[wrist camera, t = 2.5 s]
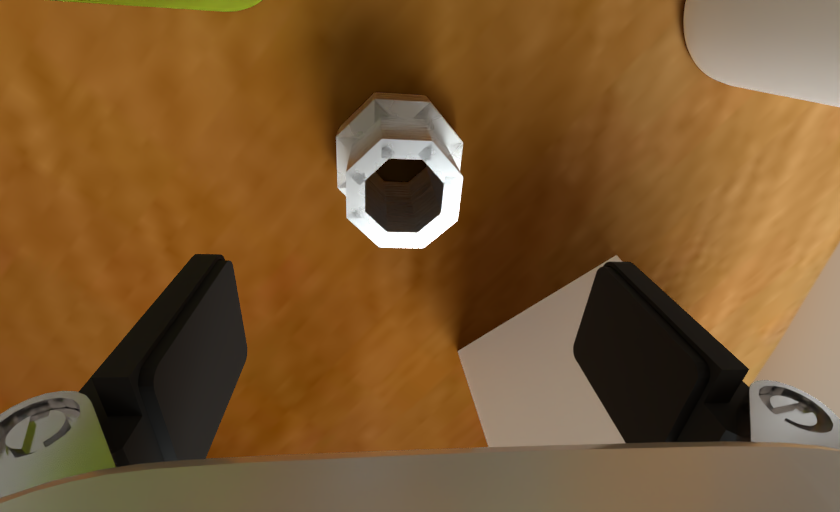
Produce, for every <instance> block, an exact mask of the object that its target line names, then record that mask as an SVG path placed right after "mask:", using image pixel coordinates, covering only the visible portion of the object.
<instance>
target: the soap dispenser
mask: <svg viewBox="0 0 840 512" xmlns="http://www.w3.org/2000/svg"><path fill="white" fill-rule="evenodd" d="M52 1H68V2H83V3H99V4H114V5H130V6H146V7H161V8H177V9H192V10H208V11H223V12H232V11H240V10H244V9H247V8H250V7H252V6H254V5H256V4H258V3H259V2H261V1H262V0H52Z"/></svg>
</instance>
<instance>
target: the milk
mask: <svg viewBox="0 0 840 512" xmlns="http://www.w3.org/2000/svg"><path fill="white" fill-rule="evenodd" d="M607 262H622V261H621V259H620V258H619V257H618V256H617V255H615V256H614V257H612V258H610V259H609V260H607V261H606V262H604V263H602V264H601V265H599V266H597V267H596V268H594V269H592V270H591V271H589V272H587V273H586V274H584V275H582V276H581V277H579V278H577V279H576V280H574V281H572V282H571V283H569V284H568V285H566V286H564V287H563V288H561V289H559V290H558V291H556V292H554V293H553V294H551V295H549V296H548V297H546V298H544V299H543V300H541V301H539V302H538V303H536V304H534V305H533V306H531V307H530V308H528V309H526V310H525V311H523V312H521V313H520V314H518V315H516V316H515V317H513V318H511V319H510V320H508V321H506V322H505V323H503V324H501V325H500V326H498V327H496V328H495V329H493V330H492V331H490V332H488V333H487V334H485V335H483V336H482V337H480V338H478V339H477V340H475V341H473V342H472V343H470V344H468V345H467V346H465V347H463V348H462V349H460V350H459V351H458V354H459V357H460V360H461V363H462V366H463V370H464V373H465V376H466V379H467V382H468V385H469V388H470V391H471V394H472V397H473V400H474V404H475V407H476V410H477V413H478V416H479V419H480V422H481V425H482V428H483V431H484V434H485V438H486V441H487V444H488V447H514V446H545V445H581V444H618V443H625V441H624V439H623V438H622V436H621V434H620V433H619V431H618V429H617V428H616V426H615V424H614V423H613V421H612V419H611V418H610V416H609V414H608V413H607V411H606V409H605V408H604V406H603V404H602V403H601V401H600V399H599V398H598V396H597V394H596V393H595V391H594V389H593V388H592V386H591V384H590V383H589V381H588V379H587V378H586V376H585V374H584V373H583V371H582V369H581V368H580V366H579V364H578V363H577V361H576V359H575V357H574V354H573V345H574V342H575V338H576V335H577V332H578V329H579V326H580V323H581V320H582V316H583V313H584V310H585V307H586V304H587V301H588V297H589V294H590V291H591V288H592V285H593V282H594V279H595V275H596V272H597V270H598V269H599V268H600V267H603V266H604V264H605V263H607Z"/></svg>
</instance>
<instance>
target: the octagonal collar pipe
mask: <svg viewBox="0 0 840 512" xmlns="http://www.w3.org/2000/svg"><path fill="white" fill-rule="evenodd" d="M462 150H463V142H462V140H461V139H460V137H459V136H458V135H457V133H456V132H455V131H454V129H453V128H452V127H451V126H450V125H449V123H448V122H447V121H446V120H445V118H444V117H443V116H442V115H441V114H440V112H439V111H438V110H437V109H436V107H435V106H434V105H433V104H432V102H431V101H430V100H429V99H428V98H427V96H426V95H416V94H400V93H383V92H375V93H374V94H373V95H372V96H371V97H369V98H368V99H367V100H366V101H365V102H364V103H363V104H362V105H361V106H360V107H359V108H358V109H357V110H356V111H355V112H354V113H353V114H352V115H351V116H350V117H349V118H348V119H347V120H346V121H345V122H344V123H343V124H342V125H341V126H340V127H339V130H338V133H337V135H336V153H337V184H338V189H339V190H340V191H341V192H343V193H344V194H345V195H346V208H347V218H348V219H349V220H350V221H351V222H352V223H353V224H354V225H355V226H356V227H357V228H359V229H360V230H361V231H362V232H363V233H364V234H365V235H366V236H367V237H368V238H370V239H371V240H372V241H373V242H374V243H375V244H376V245H377V246H378V247H387V248H424V247H426V246H427V245H428V244H429V243H431V242H432V241H433V240H434V239H436V238H437V237H438V236H439V235H441V234H442V233H443V232H444V231H445V230H447V229H448V228H449V227H450V226H452V225H453V224H454V223H455V222H457V221H458V214H459V206H460V199H461V191H462V183H463V176H462V174H461V172H460V166H461V158H462ZM388 159H412V160H424V162H425V163H426V167H425V168H424V169H423V170H422V171H421V172H420V173H418V174H417V175H416V176H415V177H414V178H413V179H412V180H410V181H409V182H388V181H384V180H383V179H382V178H381V177H380V176H379V175H378V174H377V173H376V172H375V171H376V170H377V169H378V168H379V167H381V166H382V165H383V164H384V163H385V162H386V161H387V160H388Z"/></svg>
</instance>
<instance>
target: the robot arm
mask: <svg viewBox="0 0 840 512" xmlns="http://www.w3.org/2000/svg"><path fill="white" fill-rule="evenodd" d="M573 354H574V357H575V359H576V361H577V363H578V364H579V366H580V368H581V369H582V371H583V373H584V374H585V376H586V378H587V379H588V381H589V383H590V384H591V386H592V388H593V389H594V391H595V393H596V394H597V396H598V398H599V399H600V401H601V403H602V404H603V406H604V408H605V409H606V411H607V413H608V414H609V416H610V418H611V419H612V421H613V423H614V424H615V426H616V428H617V429H618V431H619V433H620V434H621V436H622V438H623V439H624V441H625V443H618V444H581V445H545V446H514V447H482V448H452V449H422V450H394V451H368V452H342V453H316V454H290V455H267V456H248V457H229V458H211V459H205V458H206V456H207V454H208V451H209V449H210V446H211V444H212V441H213V439H214V437H215V434H216V432H217V429H218V427H219V424H220V422H221V420H222V417H223V415H224V412H225V410H226V407H227V405H228V403H229V400H230V398H231V395H232V393H233V390H234V388H235V386H236V383H237V381H238V378H239V376H240V373H241V371H242V369H243V366H244V364H245V361H246V357H247V344H246V338H245V332H244V326H243V321H242V315H241V309H240V303H239V298H238V292H237V286H236V280H235V275H234V269H233V264H232V262H231V261H225V259H224V257H223V256H222V255H216V254H195V255H194V256H193V257H192V258H191V259H190V260H189V262H188V263H187V264H186V265H185V266H184V267H183V269H182V270H181V271H180V272H179V273H178V275H177V276H176V277H175V278H174V279H173V281H172V282H171V283H170V284H169V285H168V286H167V288H166V289H165V290H164V291H163V292H162V294H161V295H160V296H159V297H158V298H157V299H156V301H155V302H154V303H153V304H152V305H151V307H150V308H149V309H148V310H147V311H146V313H145V314H144V315H143V316H142V317H141V318H140V320H139V321H138V322H137V323H136V324H135V326H134V327H133V328H132V329H131V330H130V332H129V333H128V334H127V335H126V336H125V337H124V339H123V340H122V341H121V342H120V343H119V345H118V346H117V347H116V348H115V349H114V351H113V352H112V353H111V354H110V355H109V356H108V358H107V359H106V360H105V361H104V362H103V364H102V365H101V366H100V367H99V368H98V370H97V371H96V372H95V373H94V374H93V375H92V377H91V378H90V379H89V380H88V381H87V383H86V384H85V385H84V386H83V387H82V389H81V390H80V391H79V392H75V391H59V392H53V393H46V394H43V395H40V396H37V397H34V398H31V399H28V400H26V401H24V402H22V403H20V404H17V405H15V406H13V407H11V408H10V409H8V410H7V411H5V412H3V413H2V414H0V512H840V419H839V418H838V417H837V416H836V415H835V414H834V413H833V412H832V411H831V409H829V408H828V407H827V406H825V405H824V404H823V403H821V402H820V401H819V400H817V399H816V398H814V397H812V396H811V395H809V394H807V393H806V392H803V391H801V390H799V389H797V388H795V387H793V386H790V385H787V384H784V383H780V382H777V381H769V380H760V381H756V382H754V383H752V384H751V385H750V387H748V386H747V385H746V384H745V383H744V382H743V381H742V380H743V379H744V377H745V375H746V374H747V372H748V370H749V369H748V368H747V367H746V366H745V365H744V364H743V363H742V362H740V361H739V360H738V359H737V358H736V357H735V356H734V355H733V354H732V353H731V352H729V351H728V350H727V349H726V348H725V347H724V346H723V345H722V344H721V343H720V342H718V341H717V340H716V339H715V338H714V337H713V336H712V335H711V334H710V333H709V332H707V331H706V330H705V329H704V328H703V327H702V326H701V325H700V324H699V323H698V322H697V321H695V320H694V319H693V318H692V317H691V316H690V315H689V314H688V313H687V312H686V311H684V310H683V309H682V308H681V307H680V306H679V305H678V304H677V303H676V302H675V301H673V300H672V299H671V298H670V297H669V296H668V295H667V294H666V293H665V292H664V291H662V290H661V289H660V288H659V287H658V286H657V285H656V284H655V283H654V282H653V281H651V280H650V279H649V278H648V277H647V276H646V275H645V274H644V273H643V272H642V271H640V270H639V269H638V268H637V267H636V266H635V265H634V264H633V263H631V262H607V263H605V264H604V266H603V267H600V268H599V269H598V270H597V272H596V275H595V279H594V282H593V285H592V288H591V291H590V294H589V297H588V301H587V304H586V307H585V310H584V313H583V316H582V320H581V323H580V326H579V329H578V332H577V335H576V338H575V342H574V345H573Z"/></svg>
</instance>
